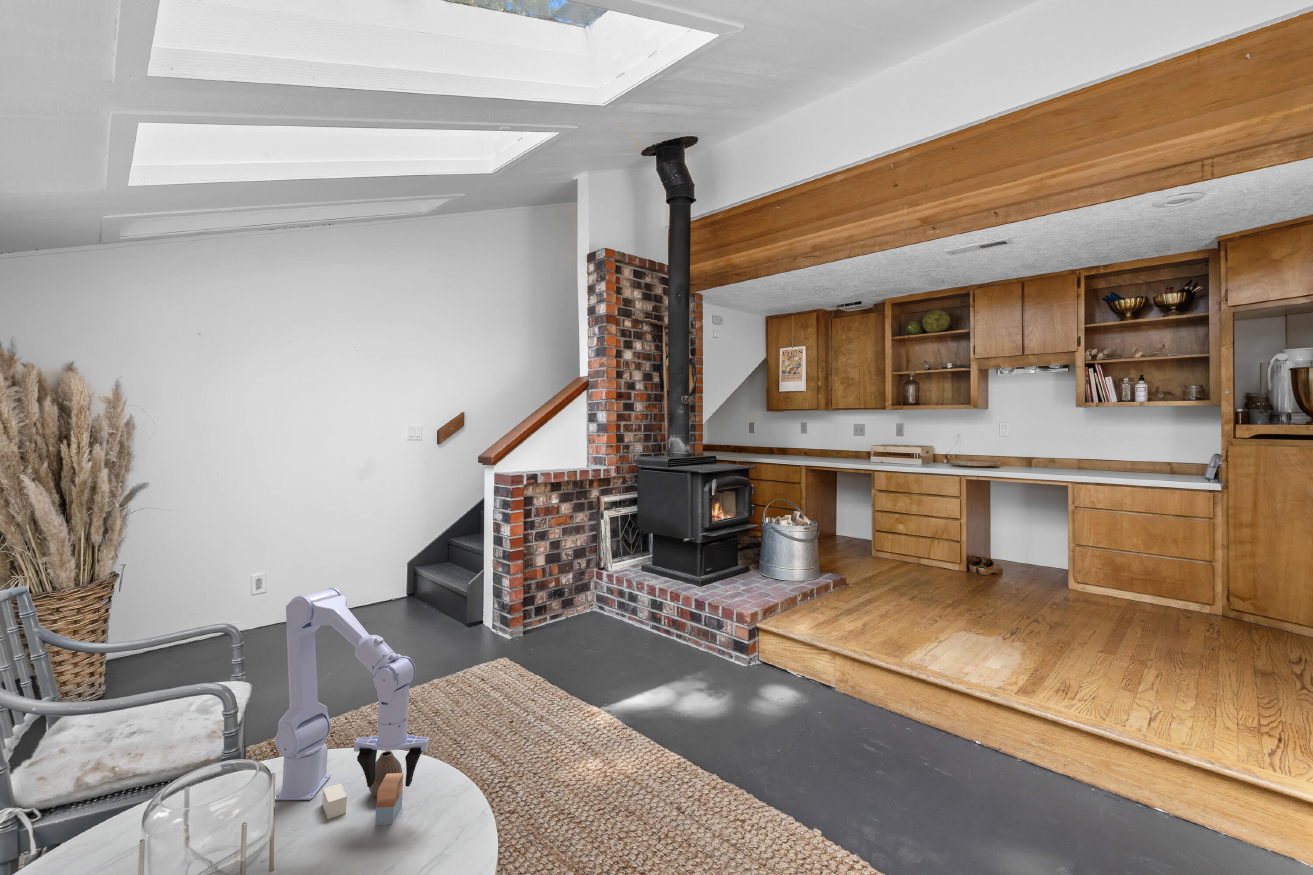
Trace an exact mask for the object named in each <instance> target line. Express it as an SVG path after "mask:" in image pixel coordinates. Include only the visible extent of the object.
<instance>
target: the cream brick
mask: <svg viewBox="0 0 1313 875" xmlns="http://www.w3.org/2000/svg"><path fill="white" fill-rule="evenodd" d="M321 797H322V799H321V806H322V809H323V811H324V813H325V816H326V818H327V820H329V819H333V818H336V817H338V816H341V815H345V814H347V804H348V802H347V801H348V800H347V799H348V797H347V794H346V792H345V789H344V788H343V786H342V784H341V783H337V784H334V785H331V786H330V785H329V786H328V787H327V786H326V787H324V788H322V796H321Z"/></svg>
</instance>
